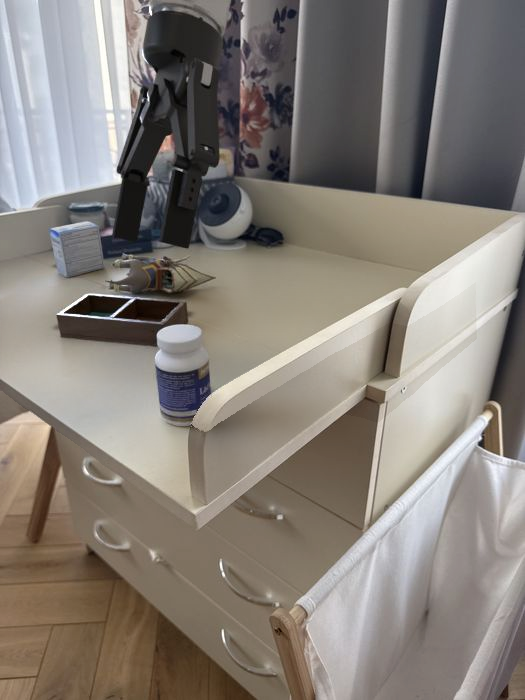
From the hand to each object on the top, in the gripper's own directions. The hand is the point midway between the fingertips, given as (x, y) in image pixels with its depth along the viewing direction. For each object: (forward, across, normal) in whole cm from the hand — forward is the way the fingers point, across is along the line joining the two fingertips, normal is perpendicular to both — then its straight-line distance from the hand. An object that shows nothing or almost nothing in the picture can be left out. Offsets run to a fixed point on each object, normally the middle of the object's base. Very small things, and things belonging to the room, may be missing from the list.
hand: (146, 242), depth 55 cm
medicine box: (+6, +54, -9) cm, 55 cm away
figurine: (+6, +36, -19) cm, 41 cm away
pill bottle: (+18, -1, -8) cm, 19 cm away
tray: (+12, +24, -8) cm, 28 cm away
